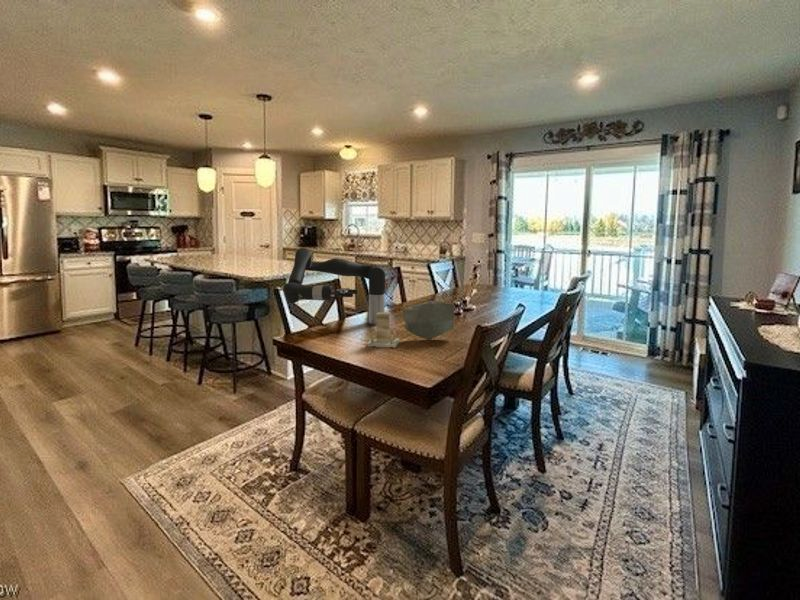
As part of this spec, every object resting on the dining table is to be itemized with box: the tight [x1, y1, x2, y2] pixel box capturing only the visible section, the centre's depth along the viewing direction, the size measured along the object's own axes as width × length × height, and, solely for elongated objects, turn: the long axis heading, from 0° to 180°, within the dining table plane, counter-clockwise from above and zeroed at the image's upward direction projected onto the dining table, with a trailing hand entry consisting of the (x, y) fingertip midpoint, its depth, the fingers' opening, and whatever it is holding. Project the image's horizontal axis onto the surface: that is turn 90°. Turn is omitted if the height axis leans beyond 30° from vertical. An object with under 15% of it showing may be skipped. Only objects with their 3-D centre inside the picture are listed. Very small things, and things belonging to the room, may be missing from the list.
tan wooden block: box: [376, 311, 391, 343], centre depth 211 cm, size 4×6×14 cm, turn 81°
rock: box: [401, 300, 456, 340], centre depth 218 cm, size 27×6×20 cm, turn 98°
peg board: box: [366, 329, 400, 349], centre depth 212 cm, size 12×14×5 cm
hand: (354, 293), depth 213 cm, fingers open, 8 cm apart
